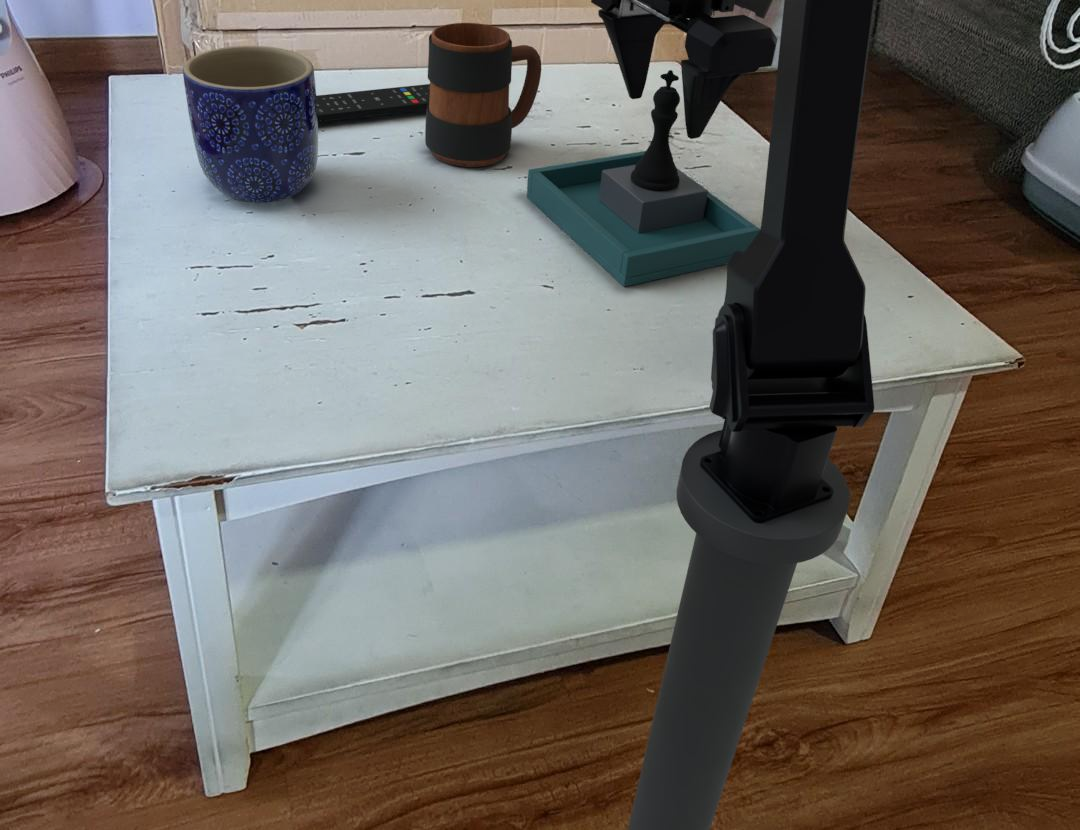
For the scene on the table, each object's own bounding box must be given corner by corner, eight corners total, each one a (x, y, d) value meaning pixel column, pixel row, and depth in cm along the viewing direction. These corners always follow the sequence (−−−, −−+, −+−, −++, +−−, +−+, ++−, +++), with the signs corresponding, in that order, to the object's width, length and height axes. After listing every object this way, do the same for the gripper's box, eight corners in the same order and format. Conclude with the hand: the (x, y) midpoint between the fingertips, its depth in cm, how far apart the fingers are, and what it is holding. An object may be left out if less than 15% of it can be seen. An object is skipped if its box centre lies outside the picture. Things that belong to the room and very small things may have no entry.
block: (703, 220, 91) (708, 190, 89) (638, 233, 88) (642, 202, 86) (660, 188, 96) (665, 159, 94) (598, 200, 93) (601, 169, 91)
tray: (754, 258, 88) (761, 229, 86) (624, 287, 82) (628, 257, 81) (646, 176, 100) (650, 149, 98) (526, 197, 94) (528, 169, 92)
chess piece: (676, 194, 88) (694, 82, 82) (627, 187, 89) (641, 75, 82) (681, 174, 91) (699, 65, 85) (633, 167, 92) (647, 58, 86)
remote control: (468, 110, 110) (468, 98, 109) (248, 136, 101) (247, 123, 100) (450, 93, 114) (450, 81, 113) (236, 116, 104) (235, 103, 104)
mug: (554, 158, 101) (564, 42, 94) (444, 174, 97) (446, 53, 90) (517, 127, 107) (523, 15, 100) (412, 140, 103) (411, 23, 95)
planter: (228, 224, 86) (211, 97, 79) (182, 176, 93) (162, 55, 86) (343, 197, 91) (336, 76, 85) (291, 153, 98) (281, 38, 91)
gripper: (853, -53, 74) (804, 147, 84) (707, -108, 87) (679, 71, 96) (733, -45, 70) (695, 165, 79) (597, -104, 82) (579, 83, 92)
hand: (663, 117), depth 87 cm, fingers open, 9 cm apart
